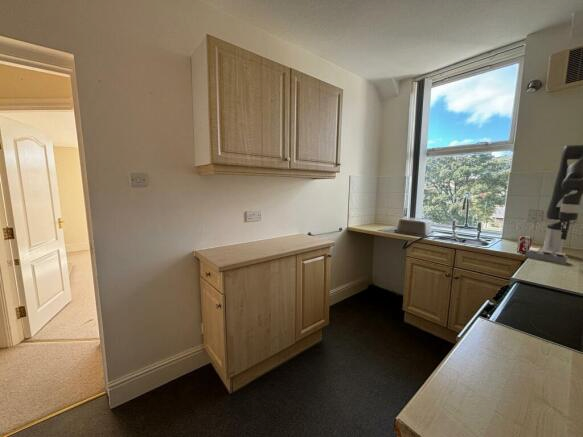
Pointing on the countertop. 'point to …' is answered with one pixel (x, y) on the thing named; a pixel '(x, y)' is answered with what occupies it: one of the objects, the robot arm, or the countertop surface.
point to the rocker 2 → (560, 253)
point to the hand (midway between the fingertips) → (563, 239)
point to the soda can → (524, 244)
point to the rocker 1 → (534, 249)
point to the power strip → (547, 257)
